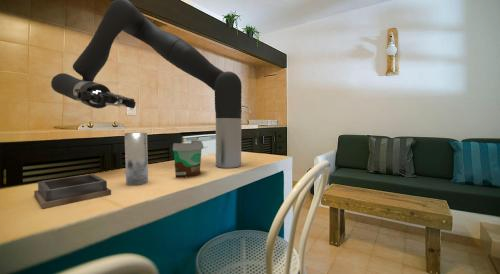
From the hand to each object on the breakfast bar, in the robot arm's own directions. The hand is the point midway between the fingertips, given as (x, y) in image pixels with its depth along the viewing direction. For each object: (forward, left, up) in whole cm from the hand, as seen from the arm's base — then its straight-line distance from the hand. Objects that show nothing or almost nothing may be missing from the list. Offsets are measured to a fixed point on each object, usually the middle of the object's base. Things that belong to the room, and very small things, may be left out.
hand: (118, 102), depth 63 cm
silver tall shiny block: (+4, +7, -21) cm, 23 cm away
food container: (-7, +18, -21) cm, 29 cm away
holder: (+15, 0, -21) cm, 26 cm away
